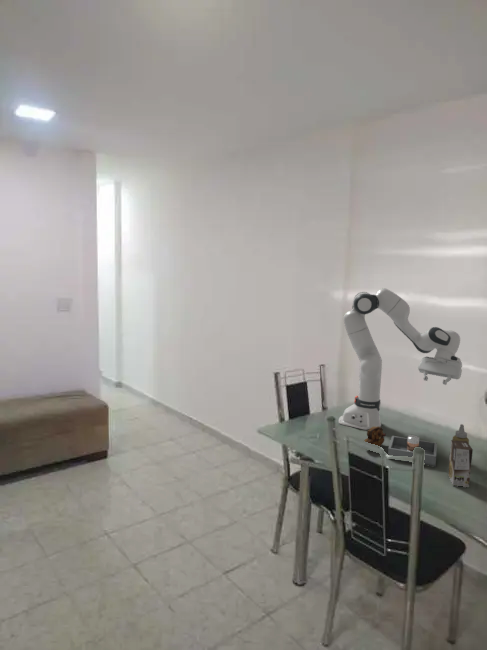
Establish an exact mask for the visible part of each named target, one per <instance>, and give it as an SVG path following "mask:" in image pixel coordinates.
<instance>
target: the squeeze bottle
mask: <svg viewBox="0 0 487 650" xmlns="http://www.w3.org/2000/svg"><path fill="white" fill-rule="evenodd" d="M464 426H465V425H464V424H462V423H461V424H460V426H459V429H458V430H456V431H455V435H453V436H452V439H451V440H454V441H467V442H468V444H469V445H470V440H469V438H468V433H467V432H466V430H465V427H464ZM449 456H450V453H449Z"/></svg>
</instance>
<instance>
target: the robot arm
mask: <svg viewBox="0 0 487 650" xmlns="http://www.w3.org/2000/svg"><path fill="white" fill-rule="evenodd" d="M351 308H352V309H351V310H348V311H346V312H345V314H344V315H343V318H342V320H343V324H344V327H345V330H346V333H347V335H348V339H349V340H350V343H351V346H352V348H353V350H354V351H355V354H356V356H357V357H358V360H359V362H360V363H359V376H358V377H359V380H358V381H359V384H358V395H356V396H355V397H354V403H353V404H352V405H349V406H348V407H347V408H345V409H344V411H343V414H342V415H341V416H339V418H338V424H340V425H343V426H347V427H352V428H357V429H360V430H364V431H368V430H369V429H370V428H371V427H373V426H376V427H378V426H379V427H382V422H381V417H380V416H381V415H380V410H381V383H382V369H383V364H382V363H383V359H382V357H381V354H380V352H379V350H378V348H377V346H376V343H375V341H374V339H373V337H372V334H371V332H370V330H369V327H368V325H367V321H366V319H365V317H366V315H368V314H370V313H373V311H375V310H376V309H379V310H380V311H382V312H383V313H385V314H386V315H387V316H388V317H389V318H390V319H391V320H392V322H393V324H394V325H395V327H397V329H398V330H399V331H400V332H401V333H402V334H403V335H404V336H405V337H407V339H408V340H410V342H411V343H412V344H413V346H414V347H415V348H416V350H417V351H418V352H420V353H422V354H429V353H431V352H432V351H433V350H435V349H436V352H435V354H434V357H431V356H424V357H422V359H421V361H420V363H419V364H418V367H417V370H418V371H419V373H423V381H425V382H426V381H427V382H428V380H429V378H428V375H431V376H438V377H441V378H442V377H443V378H446V379H443V380H442V384H443V385H445V386H446V385H447V383H448V382H450V381H451V380H452V379H453V380H459V379H460V378H461V377H462V374H463V373H462V372H463V370H462V368H463V363H462V360H461V357H458V356H456V353H457V352H458V350H459V347H460V343H461V337H460V334H459V333H458V332H456V331H455V330H444V329H442V328H440V327H438V326H434V327H431V328H429V329H428V330H427V329H426V331H425V332H423V333H422V332H419V331H418V330H417V329H416V328H415V327H414V326H413V324H411V323H410V321H409V316H410V305H409V304H408V302H407V301H406V300H405V299H404V298H402V297H401V296H399V295H398V294H397V293H395V292H394V291H392V290H390V289H388V288H383V287H382V288H380V289H379V290H377V291H376V292H375V293H374V294H372V293H369V292H367V291H360V292H358V293H357V294H356V295H354V297H353V300H352V306H351Z"/></svg>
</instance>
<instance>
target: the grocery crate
mask: <svg viewBox="0 0 487 650" xmlns="http://www.w3.org/2000/svg"><path fill="white" fill-rule="evenodd" d="M407 439H408V437H403V436H396V435H391V438H390V441H389V444H388V451H387V455H388V454H389V455H393V456H408V457H412V456H413V452H412V451H407ZM437 444H438V442H434V441H427V440H423V439H422V440H421V439H419V447H421V448H423V449H424V450H425V460H424V463H425V465H429V466H428V467H431V466H434V467H433V468H436V463H437V462H436V461H437V448H438V445H437ZM397 461H398V462H405V463H410V464H413V463H412V462H409V461H401V460H397ZM425 465H424V466H425Z"/></svg>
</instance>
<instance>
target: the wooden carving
mask: <svg viewBox="0 0 487 650" xmlns="http://www.w3.org/2000/svg"><path fill="white" fill-rule="evenodd" d="M366 431H367V432H366V436H367V438H365V439H364V440H363V442H364V441H365V442H368V443H371V444H375V445H378V446H380V447H381V446H382V445H383V444H384V442H385V438H384V437H386V435H387V434H386V433H385V432H384V429H383V427H382V426H380V427H379V426H378V427H376V426H373V427H371V428H370V429H368V430H366Z"/></svg>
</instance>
